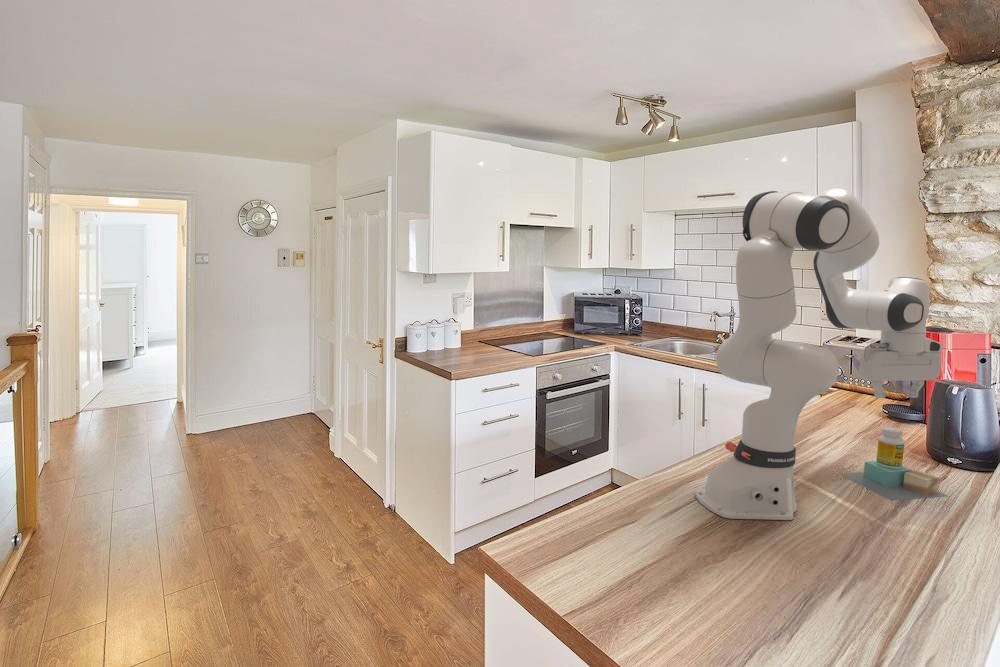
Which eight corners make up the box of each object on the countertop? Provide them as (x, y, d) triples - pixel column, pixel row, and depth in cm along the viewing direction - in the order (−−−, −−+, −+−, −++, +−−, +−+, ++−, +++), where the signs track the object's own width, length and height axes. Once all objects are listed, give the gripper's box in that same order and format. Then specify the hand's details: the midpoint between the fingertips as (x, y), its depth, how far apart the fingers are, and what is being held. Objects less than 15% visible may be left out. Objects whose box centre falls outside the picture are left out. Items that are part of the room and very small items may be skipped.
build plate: (890, 505, 123) (891, 500, 123) (837, 478, 139) (837, 473, 138) (948, 500, 125) (949, 496, 125) (889, 474, 141) (890, 470, 141)
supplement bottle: (881, 460, 137) (885, 424, 136) (905, 466, 133) (909, 430, 132) (872, 464, 135) (875, 428, 133) (896, 471, 130) (900, 434, 129)
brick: (925, 496, 125) (927, 480, 125) (902, 488, 130) (904, 472, 129) (938, 492, 127) (940, 477, 126) (915, 485, 132) (917, 469, 131)
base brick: (887, 487, 130) (888, 471, 130) (863, 476, 137) (864, 461, 136) (911, 485, 131) (912, 470, 131) (886, 474, 138) (887, 460, 138)
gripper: (876, 344, 125) (870, 401, 126) (949, 344, 128) (942, 399, 130) (854, 341, 131) (849, 395, 132) (924, 341, 134) (918, 393, 136)
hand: (895, 397), depth 131 cm, fingers open, 8 cm apart
